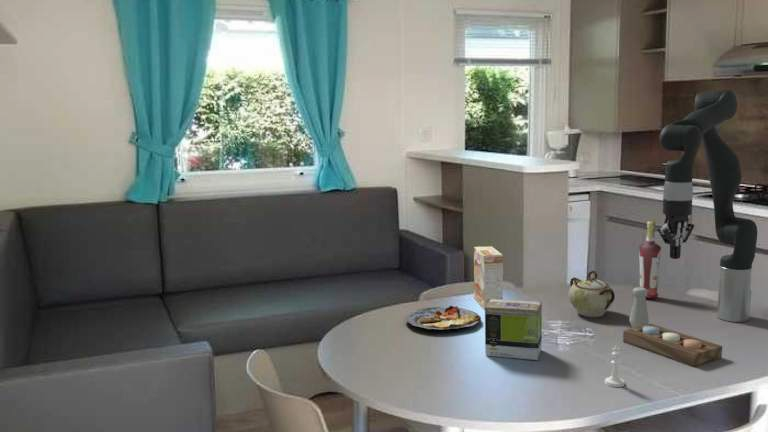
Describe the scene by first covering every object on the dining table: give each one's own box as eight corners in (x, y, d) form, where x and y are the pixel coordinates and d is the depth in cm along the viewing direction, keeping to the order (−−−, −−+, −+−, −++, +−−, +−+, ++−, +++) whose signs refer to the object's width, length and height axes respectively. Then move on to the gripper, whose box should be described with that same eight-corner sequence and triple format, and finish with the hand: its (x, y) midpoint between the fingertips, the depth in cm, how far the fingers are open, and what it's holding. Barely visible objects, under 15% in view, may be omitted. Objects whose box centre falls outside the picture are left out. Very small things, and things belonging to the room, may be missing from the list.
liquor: (656, 301, 249) (659, 224, 244) (635, 298, 253) (638, 222, 248) (660, 296, 255) (664, 220, 251) (640, 293, 259) (642, 219, 254)
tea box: (541, 349, 205) (542, 300, 202) (537, 361, 195) (538, 310, 193) (490, 344, 209) (490, 296, 207) (484, 356, 200) (484, 306, 198)
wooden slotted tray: (650, 334, 215) (650, 323, 215) (721, 358, 195) (722, 346, 194) (623, 341, 209) (623, 330, 209) (693, 367, 189) (694, 354, 188)
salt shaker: (649, 331, 218) (651, 291, 216) (630, 330, 219) (631, 290, 217) (646, 325, 224) (648, 286, 221) (627, 324, 225) (629, 285, 223)
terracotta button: (690, 348, 199) (690, 338, 198) (704, 353, 195) (705, 342, 194) (679, 351, 197) (680, 341, 196) (694, 356, 193) (694, 346, 192)
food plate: (462, 309, 246) (462, 299, 245) (493, 329, 224) (493, 319, 223) (395, 317, 238) (395, 307, 237) (420, 339, 216) (420, 328, 216)
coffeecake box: (473, 298, 258) (473, 246, 255) (492, 297, 259) (492, 245, 256) (483, 310, 244) (483, 255, 241) (503, 309, 244) (503, 254, 241)
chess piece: (601, 380, 182) (602, 343, 180) (619, 379, 182) (621, 342, 180) (609, 387, 177) (610, 349, 175) (628, 386, 177) (629, 348, 175)
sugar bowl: (629, 317, 232) (631, 273, 230) (596, 325, 225) (597, 279, 223) (586, 303, 249) (587, 262, 247) (554, 310, 242) (554, 267, 240)
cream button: (669, 341, 205) (669, 331, 204) (682, 345, 201) (683, 335, 200) (658, 344, 203) (659, 334, 202) (672, 349, 199) (672, 338, 198)
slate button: (649, 334, 211) (649, 325, 210) (662, 339, 207) (662, 329, 206) (639, 337, 209) (639, 327, 208) (651, 342, 205) (652, 332, 204)
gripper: (681, 194, 201) (678, 253, 204) (650, 198, 195) (648, 259, 198) (704, 196, 195) (701, 257, 198) (673, 201, 188) (670, 264, 191)
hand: (674, 258), depth 198 cm, fingers closed
